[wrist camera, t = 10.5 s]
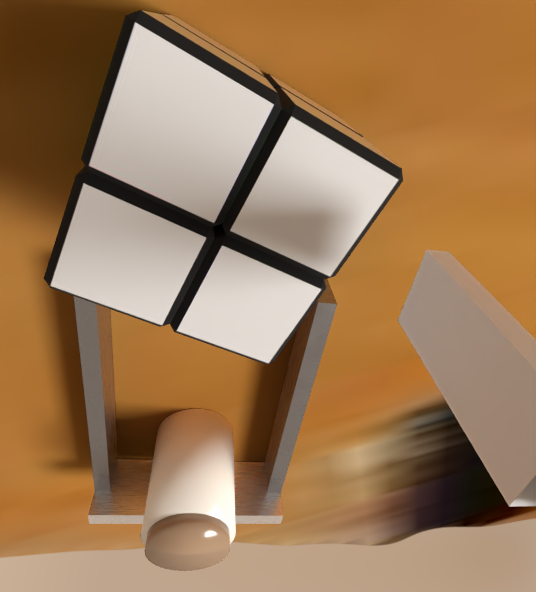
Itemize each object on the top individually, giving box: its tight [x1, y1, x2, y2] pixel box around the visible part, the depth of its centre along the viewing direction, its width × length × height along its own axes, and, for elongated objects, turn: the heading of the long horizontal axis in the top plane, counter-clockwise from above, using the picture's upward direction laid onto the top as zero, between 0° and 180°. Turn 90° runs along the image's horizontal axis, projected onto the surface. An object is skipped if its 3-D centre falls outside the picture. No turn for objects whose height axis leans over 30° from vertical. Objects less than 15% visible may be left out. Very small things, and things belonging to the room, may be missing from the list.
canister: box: [141, 409, 236, 571], centre depth 32 cm, size 6×6×9 cm
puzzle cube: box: [44, 10, 403, 364], centre depth 19 cm, size 10×10×10 cm
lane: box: [74, 279, 337, 524], centre depth 30 cm, size 15×21×5 cm
